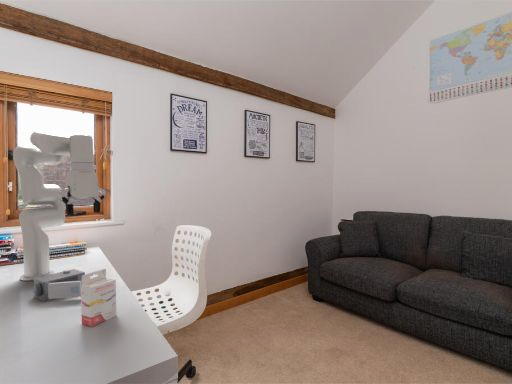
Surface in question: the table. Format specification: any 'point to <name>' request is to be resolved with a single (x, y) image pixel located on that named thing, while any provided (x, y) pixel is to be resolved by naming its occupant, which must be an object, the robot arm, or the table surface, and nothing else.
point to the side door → (62, 289)
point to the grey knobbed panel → (55, 281)
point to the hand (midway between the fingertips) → (84, 213)
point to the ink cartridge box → (97, 298)
